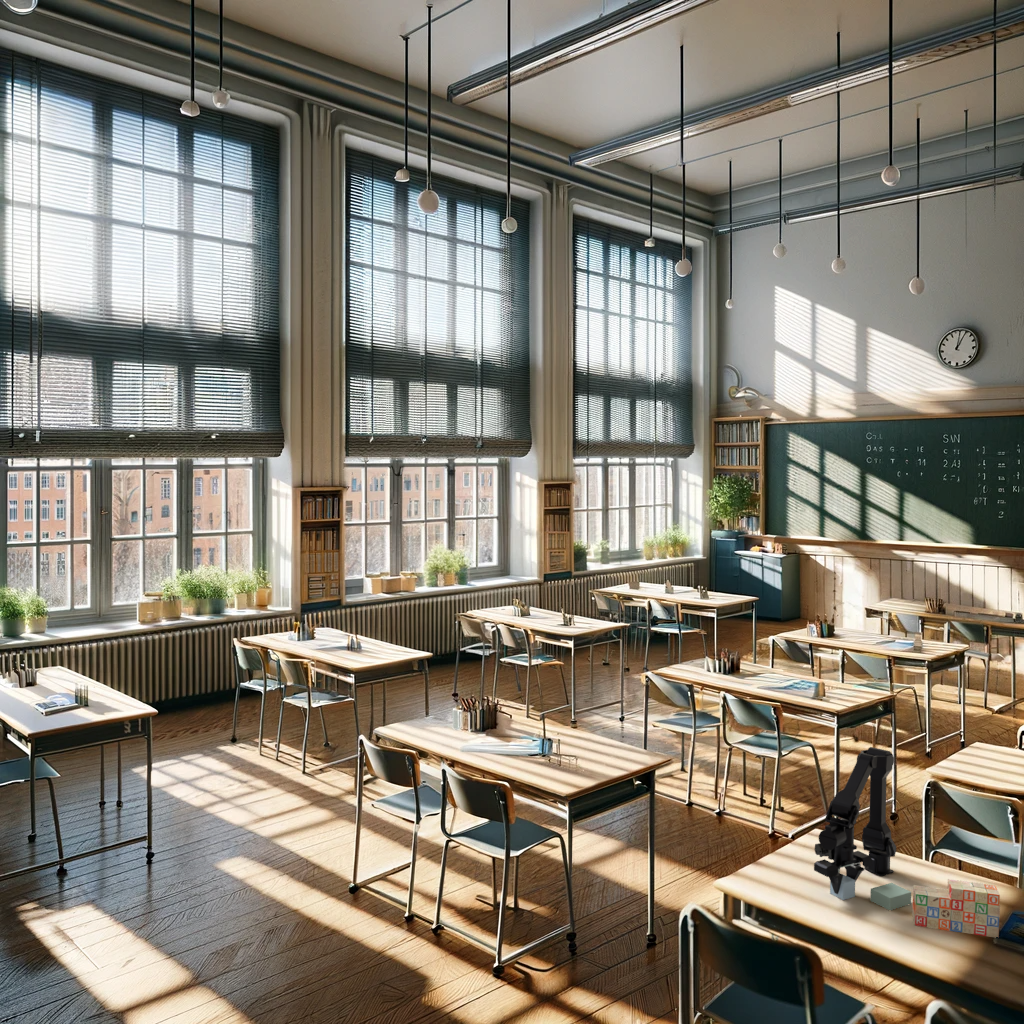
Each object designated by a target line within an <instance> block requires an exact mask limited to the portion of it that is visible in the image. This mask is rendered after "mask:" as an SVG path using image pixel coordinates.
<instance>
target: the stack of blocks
mask: <svg viewBox="0 0 1024 1024" xmlns="http://www.w3.org/2000/svg"><path fill="white" fill-rule="evenodd" d="M1000 898H1001V895H1000V892H999V890H998V887H997V886H996V885H993V884H987V883H985V884H984V883H982V882H975V881H967V880H966V881H965V880H956V879H949V878H948V879H947V888H946V889H945V888H937V887H931V886H923V885H915V884H913V886H912V920H913V923H914V924H913V925H914V926H917V927H924V928H929V929H934V928H935V929H936V930H943V931H949V932H950V931H951V932H957V933H963V934H969V935H971V934H972V935H977V936H983V937H990V938H996V937H998V938H999V937H1000V936H999V935H1000V933H999V931H1000V930H999V929H1000V928H999V927H1000V915H1001V914H1000V913H1001V910H1000V909H1001V906H1000V900H1001V899H1000Z"/></svg>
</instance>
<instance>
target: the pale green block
mask: <svg viewBox="0 0 1024 1024" xmlns="http://www.w3.org/2000/svg"><path fill="white" fill-rule="evenodd" d="M869 900H870V902H871V903H873V902H874V904H875V903H876V904H875V905H878V906H879V905H880V907H881V906H882V908H883V907H884V908H883V909H886V910H888V911H889V910H891V911H893V909H894V910H897V909H900V908H899V907H901V908H903V907H902V906H904V907H906V906H905V905H907V906H909V905H908V904H911V905H912V891H910V890H908V889H906V888H904V887H902V886H900V885H898V884H895V883H894V882H889V883H885V884H883V885H878V886H875V887H872V888H870V899H869ZM896 908H897V909H896Z"/></svg>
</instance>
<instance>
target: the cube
mask: <svg viewBox="0 0 1024 1024" xmlns="http://www.w3.org/2000/svg"><path fill="white" fill-rule="evenodd" d="M841 874H842V875H843V878H842V881H841V885H840V889H839V892H838V894H836V893H834V890H833V887H832V884H831V881H830V880H829V883H830V885H829V888H830V889H829V894H830V895H832V896H835V897H836V898H838V899H840V900H842V901H845V900H848V899H849V900H850V899H852V898H855V897H856V882H855V880H854V879H852V878H850V877H847V876H846V874H844V873H841Z"/></svg>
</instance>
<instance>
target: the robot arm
mask: <svg viewBox="0 0 1024 1024" xmlns="http://www.w3.org/2000/svg"><path fill="white" fill-rule="evenodd" d="M894 764H895V756H894V754H893V753H892V752H891V751H890V750H887V749H882V748H878V747H872V746H870V747H868V748H867V749H864V750H861V751H860V753H858V754H857V757H856V763H855V765H854V767H853V769H852V771H851V773H850V775H849V777H848V780H847V782H846V784H845V786H844V788H843V789H841V790H840V791H838V792H836V794H835V795H834V797H833V799H832V800H831V801H830V803H829V806H828V809H827V812H826V815H825V819H824V822H826V823H829V824H827V825H825V826H824V829H823V830H821V831H820V833H819V834H818V841H819V843H815V844H814V853H815V855H816V856H819V857H820V858H822V857H828V858H827V859H828V860H826V859H825V858H824V859H821V860H817V861H815V862H814V863H813V871H814V872H816V873H818V874H820V875H822V876H824V877H826V878H828V879H829V882H830V881H831V884H832V887H833V890H834V893H836V894H838V892H839V889H840V885H841V881H842V878H843V875H844V874H843V873H841V872H840V871H841V869H843V868H844V869H845V871H846V872H845V876H847V877H850V878H852V879H854V880H855V883H856V882H857V880H858V878H859V877H860V875H861V874H862V872H864V871H865V870H866V871H868V872H870V873H872V874H874V873H875V874H874V875H876V876H879V877H883V876H886V874H887V875H889V874H894V873H895V871H894V870H893V869H891V857H892V858H893V857H896V852H897V845H896V844H895V842H894V841H893V839H892V831H891V828H890V827H889V825H888V824H887V822H886V820H887V819H886V818H887V817H886V816H887V815H886V814H887V813H886V812H887V777H888V776H889V775H890V773H891V772H892V770H893V766H894ZM869 779H870V780H869ZM868 780H869V819H868V820H869V821H868V823H867V824H866V825H865V826H863V829H862V835H861V836H862V837H861V842H862V848H863V850H864V851H867V852H868V854H866V853H865V852H861V851H860V850H858V845H856V844H854V843H855V841H854V840H855V838H854V837H855V825H856V824H857V819H858V818H859V816H860V808H861V805H860V801H859V800H860V797H861V795H862V793H863V790H864V789H865V787H866V783H867V781H868ZM854 850H855V851H854ZM856 850H857V851H856ZM829 860H831V861H833V862H831V861H829ZM861 863H862V865H861ZM862 866H863V867H862ZM893 872H894V873H893ZM842 874H843V875H842Z"/></svg>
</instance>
